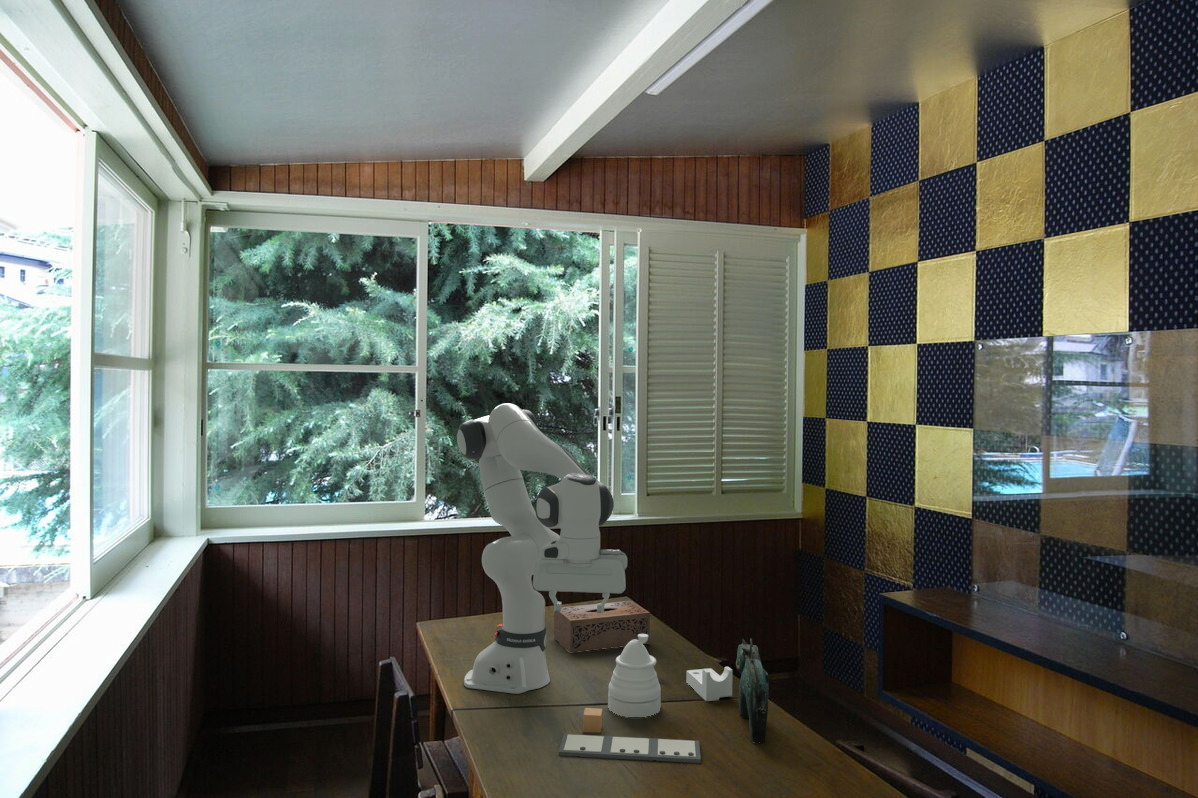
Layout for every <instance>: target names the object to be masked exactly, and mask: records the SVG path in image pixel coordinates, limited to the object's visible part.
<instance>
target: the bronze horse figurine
mask: <svg viewBox="0 0 1198 798" xmlns="http://www.w3.org/2000/svg"><path fill="white" fill-rule="evenodd" d="M741 639H742V641H741V644H738V647H737V652H736V654H737V655H736V661H735V668H736V671H737V673H739V674H740V679H739V686H738V713H739V715H740V717H741V716H742V718H747V717H749V718H748V721H749V722H748V726H749V729H748V730H749V736H750V737H749V738H750V742H751V741H752V742H755V743H754V744H756V743H759V742H760V743H759V744H761V743H765V744H766V734H767V728H768V727H767V726H768V714H769V713H768V712H769V693H770V688H769V687H770V685H769V673H768V672H767V671H766V669H764V666H763V664H762V661H761V658H760V652H759V648H758V646H757V645H755V644H753V638H752V637H751V638H749V642H750V643H749V644H748V643H747V642H746V640H745V639H744V638H741ZM752 742H751V743H752Z"/></svg>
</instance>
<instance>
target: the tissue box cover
mask: <svg viewBox="0 0 1198 798" xmlns="http://www.w3.org/2000/svg"><path fill="white" fill-rule="evenodd" d="M597 604H598V603H591V604H579V605H573V606H561V611H554V610H553V612H554V615H553V616H554V617H553V618H554V620H553V621H554V622H553V631H554V632H553V639H555V640H554V641H556V640H557V641H558V642H559V643H560V644H561V645H562V646H563V647H564V648H565V649H567V650H568V651H569V652H578V651H586V650H594V649H602V648H611V647H620V646H626V645H627V644H628V643H629V642H630V641H631V640H634V639H636V640H639V639H638V635H639V634H647V635H648V640H647V642H646V643H642V644H647V643H650V640H651V639H650V638H651V636H650V635H651V633H650V632H651V612H650V611H648V610H647V609H645V608H643V607H642V606H640V605H639V604H637V603H635V602H634V601H632V600H625V601H624V600H623V601H613V602H606V603H605V605H604V613H597ZM557 641H556V642H557ZM558 642H557V643H558ZM559 643H558V644H559ZM560 644H559V645H560ZM561 645H560V646H561ZM562 646H561V647H562ZM563 647H562V648H563ZM564 648H563V649H564ZM567 650H566V651H567ZM568 651H567V652H568ZM569 652H568V653H569Z"/></svg>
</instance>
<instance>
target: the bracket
mask: <svg viewBox="0 0 1198 798" xmlns="http://www.w3.org/2000/svg"><path fill="white" fill-rule="evenodd" d="M685 678H686V684H687V683H688V684H687V685H688V686H689V685H690V686H691V687H692V688H693V689H694V692H696V694H698V696H700V697H701V699H703V700H704V701H705V702H712V701H713V702H714V701H720V698H725V697H733V669H732V668H731V667H729V666H725V667H724V670H723V672H722V674H719V673H717V672H716V671H715V670H714V669H713V668H701V669H689V670H686V677H685ZM690 686H689V687H690ZM691 687H690V688H691ZM692 688H691V689H692ZM693 689H692V690H693Z"/></svg>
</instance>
